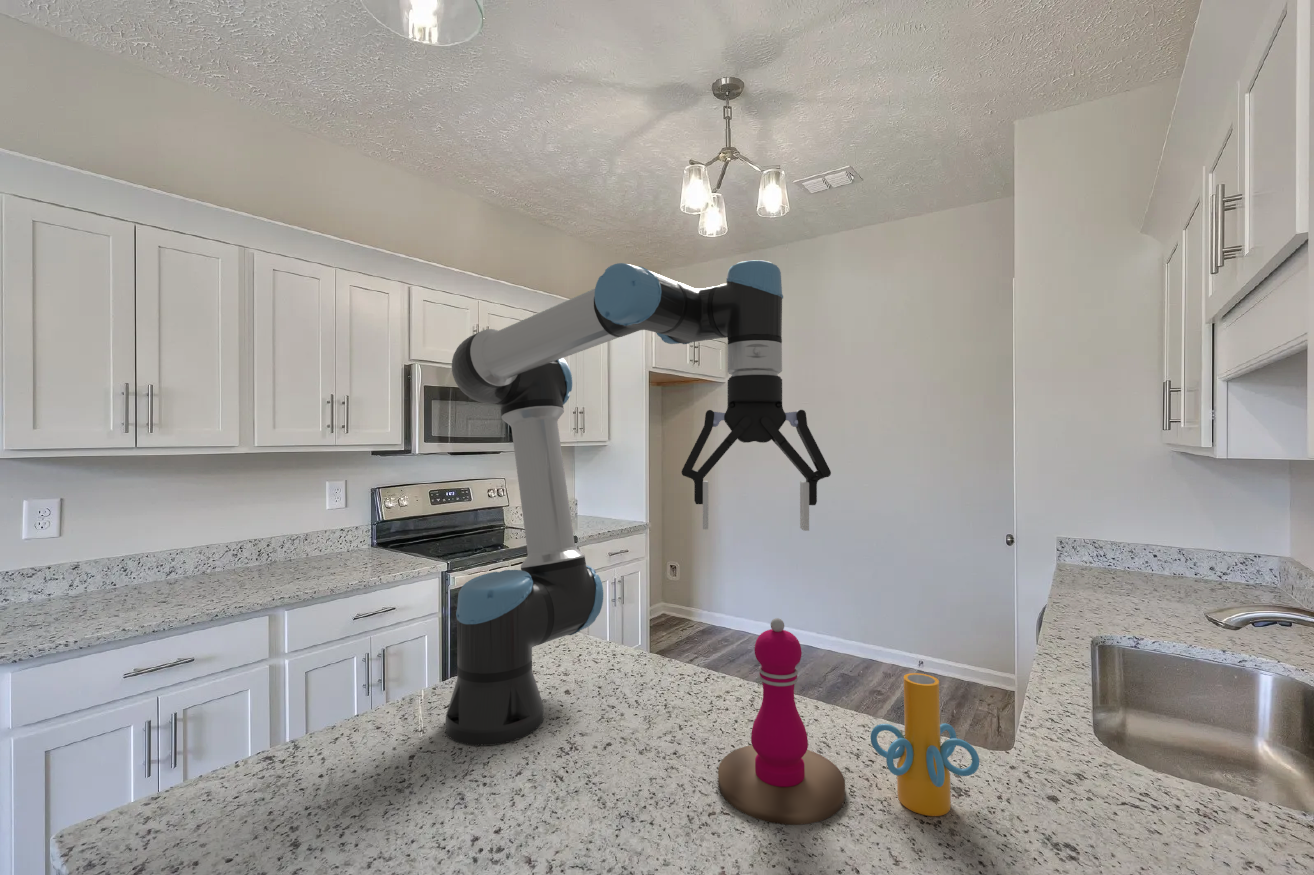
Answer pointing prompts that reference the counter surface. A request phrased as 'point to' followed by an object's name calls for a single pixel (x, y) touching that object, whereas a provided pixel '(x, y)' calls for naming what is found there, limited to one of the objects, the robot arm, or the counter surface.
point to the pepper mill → (778, 710)
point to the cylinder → (923, 750)
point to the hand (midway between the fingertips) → (754, 529)
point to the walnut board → (782, 790)
